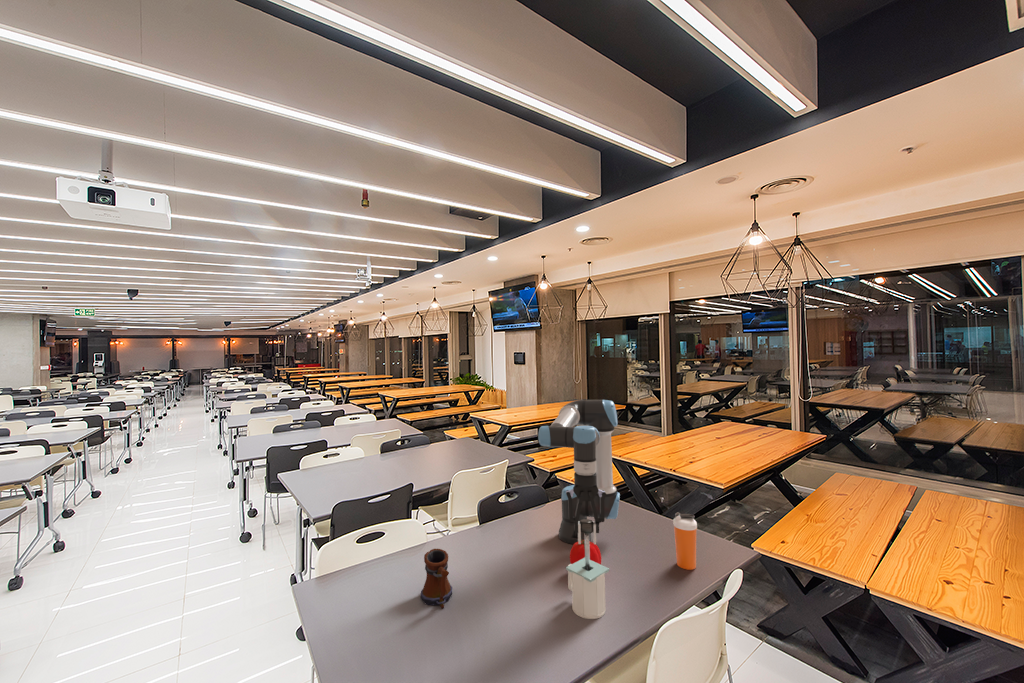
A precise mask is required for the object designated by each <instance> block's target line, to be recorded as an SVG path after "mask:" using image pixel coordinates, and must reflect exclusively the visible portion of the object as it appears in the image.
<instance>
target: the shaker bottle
mask: <svg viewBox="0 0 1024 683" xmlns="http://www.w3.org/2000/svg"><path fill="white" fill-rule="evenodd" d="M674 515H675V517H674V518H673V520H672V523H673V524H672V525H673V531H674V533H673V534H674V541H675V542H674V545H675V555H676V565H677V566H678V567H679V568H681V569H683V570H688V571H692V570H694V569H696V567H697V529H698V522H697V521H696V519H695V515H694V514H691V513H680V512H679V511H678V512H676V513H675V514H674Z"/></svg>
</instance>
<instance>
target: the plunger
mask: <svg viewBox="0 0 1024 683" xmlns="http://www.w3.org/2000/svg"><path fill="white" fill-rule="evenodd" d="M580 524H581V532H582V533H584V536H585V570H587V571H590V570H591V569H590V544H589V533H591V534H593V520H592V519H588V518H587V519H582V520H580Z"/></svg>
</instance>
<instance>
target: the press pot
mask: <svg viewBox="0 0 1024 683" xmlns="http://www.w3.org/2000/svg"><path fill="white" fill-rule="evenodd" d="M565 569H566V571H567V584H568V585H567V589H568V590H570V591H571V602H572V603H571V609H572V611H573V614H575V615H576V616H577V617H580V618H582V619H584V620H596V619H600V618H602V617H603V616H604V615H605V614H606V578H605V576H606V574H607V573H609V572H610V568H609V567H607V566H605V565H603V564H602V563H601V564H598V563H596V562H594V561H592V560H590V569H591V570H590V571H587V570H585V558H583V559H581V560H579V561H577V562H575V563H573V564H571V563H569V564H568V565H567V566H566V567H565Z"/></svg>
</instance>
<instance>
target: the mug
mask: <svg viewBox="0 0 1024 683" xmlns="http://www.w3.org/2000/svg"><path fill="white" fill-rule="evenodd" d="M423 559H424V561H423V562H424V565H425V567H424V570H425V572H426V578H425V581H424V584H423V588H422V589H421V591H420V600H421V601H422V602H423V604H424V605H427V606H440V608H441V609H445V604H446V603H447V602H449V601H450V599H451V598H452V596H453V586H452V585H451V584H450V582H449V578H448V576H449V574H450V572H449V571H448V567H449V566H448V562H449V553H447V551H446V550H445V549H442V548H432V549H430V550H429V551H427V552H426V553H425V554H424V557H423Z"/></svg>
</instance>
